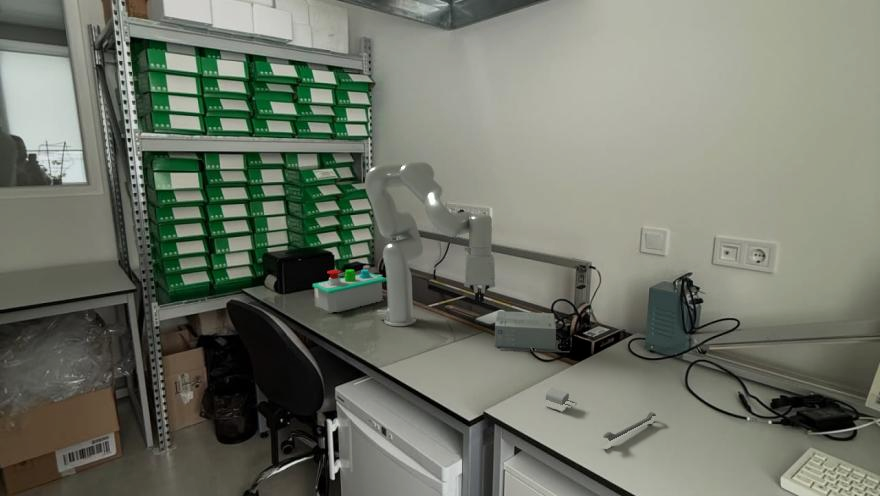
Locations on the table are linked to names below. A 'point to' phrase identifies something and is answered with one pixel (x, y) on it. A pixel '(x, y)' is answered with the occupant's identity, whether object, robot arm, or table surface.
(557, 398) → the usb wall charger
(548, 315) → the hard drive box
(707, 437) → the table surface
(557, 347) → the mat
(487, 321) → the phone case
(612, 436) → the combination wrench
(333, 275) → the control panel
